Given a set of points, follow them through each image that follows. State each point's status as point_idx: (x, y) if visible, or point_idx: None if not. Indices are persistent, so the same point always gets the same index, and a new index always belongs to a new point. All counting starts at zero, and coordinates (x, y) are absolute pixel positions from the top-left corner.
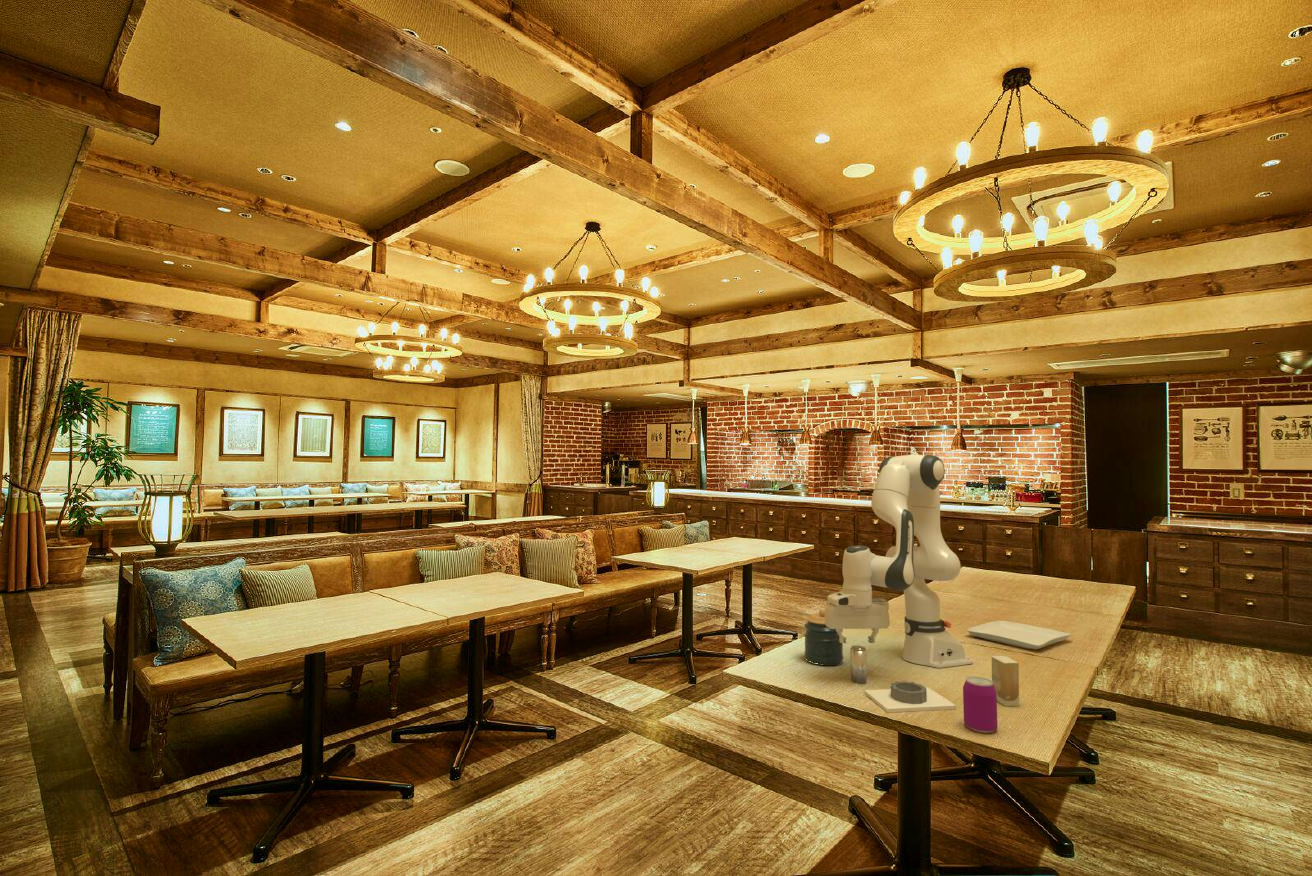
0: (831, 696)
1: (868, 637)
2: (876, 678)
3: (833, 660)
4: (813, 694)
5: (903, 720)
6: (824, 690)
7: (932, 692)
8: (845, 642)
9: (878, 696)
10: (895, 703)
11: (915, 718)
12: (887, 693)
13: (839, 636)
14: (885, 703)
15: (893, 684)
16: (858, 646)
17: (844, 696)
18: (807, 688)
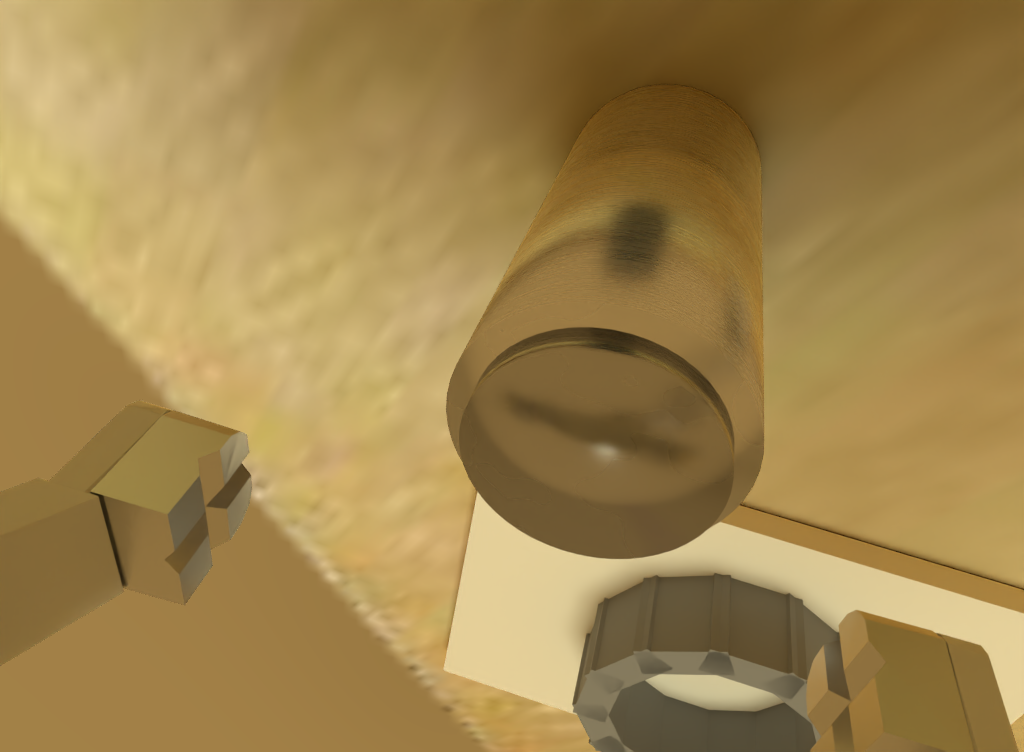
0: (214, 362)
1: (864, 714)
2: (979, 171)
3: None
4: (86, 278)
5: (472, 716)
6: (195, 244)
7: (1005, 696)
8: (226, 518)
9: (515, 561)
10: (546, 658)
11: (550, 734)
12: (625, 560)
13: (40, 502)
14: (482, 633)
15: (637, 668)
16: (631, 433)
17: (311, 401)
18: (54, 144)
